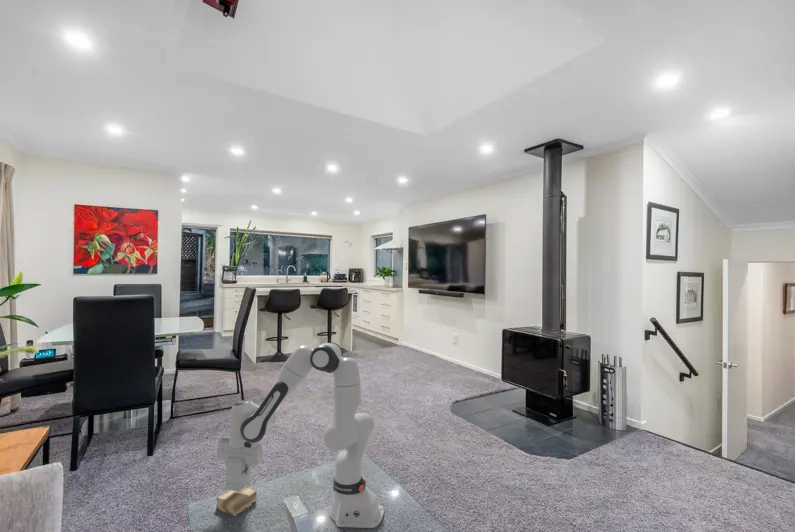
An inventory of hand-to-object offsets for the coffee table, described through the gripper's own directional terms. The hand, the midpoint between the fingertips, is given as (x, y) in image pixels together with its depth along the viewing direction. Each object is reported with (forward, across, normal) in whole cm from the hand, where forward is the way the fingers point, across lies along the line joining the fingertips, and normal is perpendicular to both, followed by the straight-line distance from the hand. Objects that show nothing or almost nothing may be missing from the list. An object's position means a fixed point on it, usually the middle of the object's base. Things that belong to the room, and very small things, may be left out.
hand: (238, 472), depth 157 cm
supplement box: (+6, 0, 0) cm, 6 cm away
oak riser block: (+14, 0, 0) cm, 14 cm away
